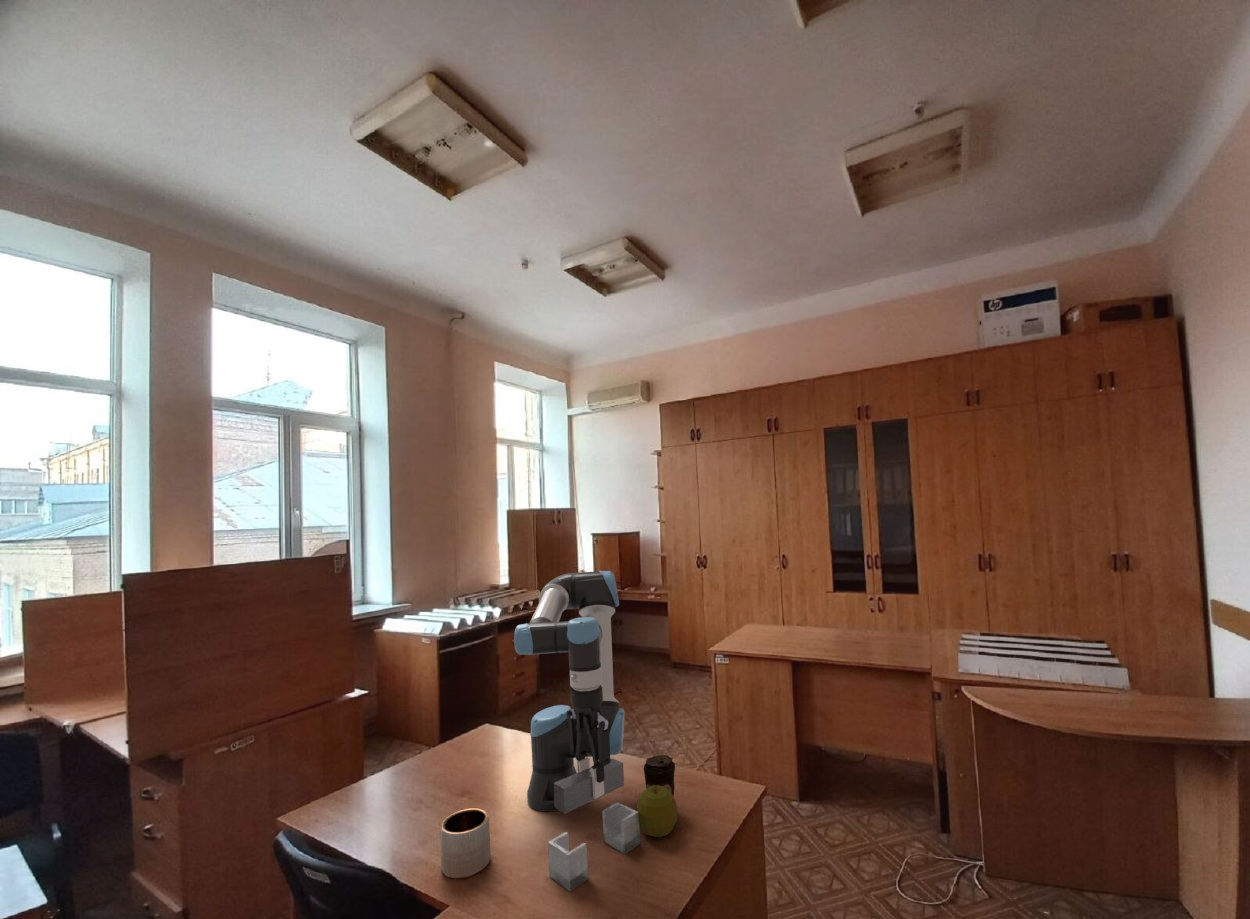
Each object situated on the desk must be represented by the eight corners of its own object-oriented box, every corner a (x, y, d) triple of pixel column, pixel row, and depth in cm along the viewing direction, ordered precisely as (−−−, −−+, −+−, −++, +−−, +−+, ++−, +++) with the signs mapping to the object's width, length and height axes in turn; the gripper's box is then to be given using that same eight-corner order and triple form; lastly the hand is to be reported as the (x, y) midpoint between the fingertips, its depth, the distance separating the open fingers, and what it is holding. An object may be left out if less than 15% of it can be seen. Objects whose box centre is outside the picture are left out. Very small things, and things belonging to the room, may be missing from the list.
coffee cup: (676, 823, 132) (672, 768, 133) (643, 822, 134) (640, 767, 135) (680, 804, 140) (676, 753, 142) (649, 803, 142) (645, 752, 143)
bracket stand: (549, 876, 115) (547, 842, 116) (619, 832, 130) (617, 802, 131) (570, 891, 110) (568, 855, 111) (640, 843, 125) (638, 812, 125)
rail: (554, 807, 117) (553, 783, 118) (613, 780, 128) (612, 758, 129) (564, 813, 114) (563, 788, 115) (624, 785, 125) (623, 763, 126)
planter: (448, 853, 126) (447, 810, 127) (494, 847, 127) (492, 805, 128) (435, 883, 115) (434, 836, 116) (486, 877, 116) (484, 830, 117)
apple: (638, 822, 134) (635, 776, 135) (677, 820, 133) (673, 774, 135) (638, 846, 124) (635, 796, 125) (679, 844, 123) (676, 794, 125)
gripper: (551, 684, 128) (556, 787, 125) (597, 697, 116) (604, 812, 113) (576, 676, 133) (581, 775, 130) (622, 688, 121) (629, 798, 118)
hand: (591, 792), depth 121 cm, fingers closed on rail, 4 cm apart
